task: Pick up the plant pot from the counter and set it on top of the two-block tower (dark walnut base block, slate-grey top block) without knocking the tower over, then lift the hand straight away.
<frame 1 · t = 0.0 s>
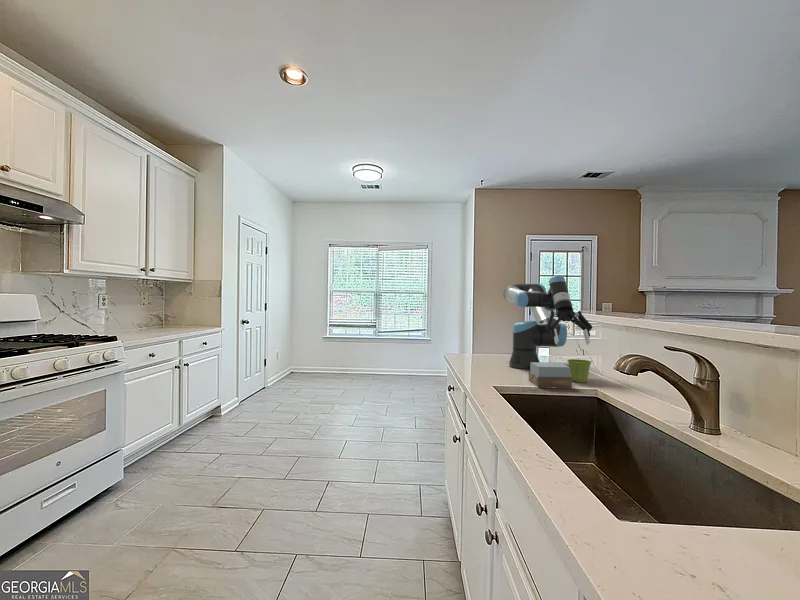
hand: (572, 343, 183), 15 cm above the worktop, tool tilted 35°, fingers open, 13 cm apart
plant pot: (579, 381, 175), on the worktop
slate top block: (549, 374, 167), point 4 cm above the worktop, touching walnut base block
walnut base block: (549, 385, 167), on the worktop, touching slate top block
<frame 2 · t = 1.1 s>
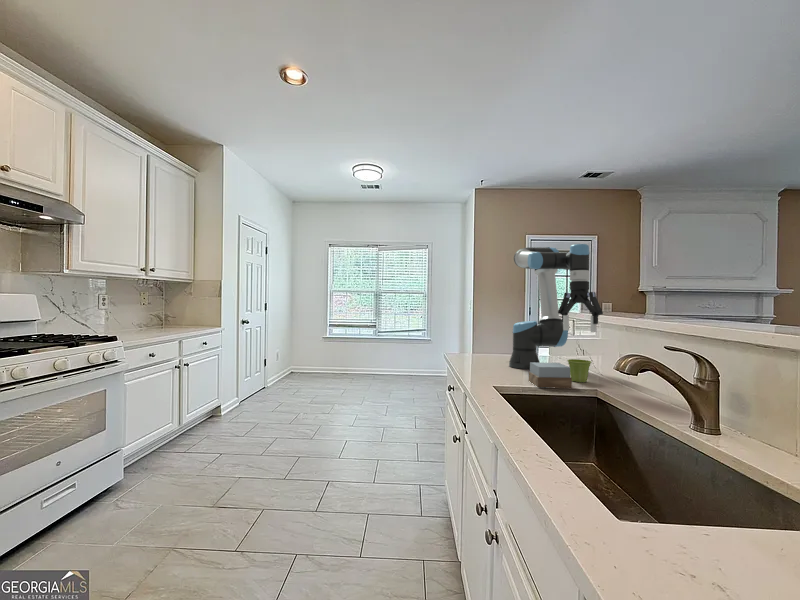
hand: (579, 331, 175), 21 cm above the worktop, tool pointing down, fingers open, 13 cm apart
slate top block: (549, 374, 167), point 4 cm above the worktop
walnut base block: (549, 385, 167), on the worktop
everything else where it was.
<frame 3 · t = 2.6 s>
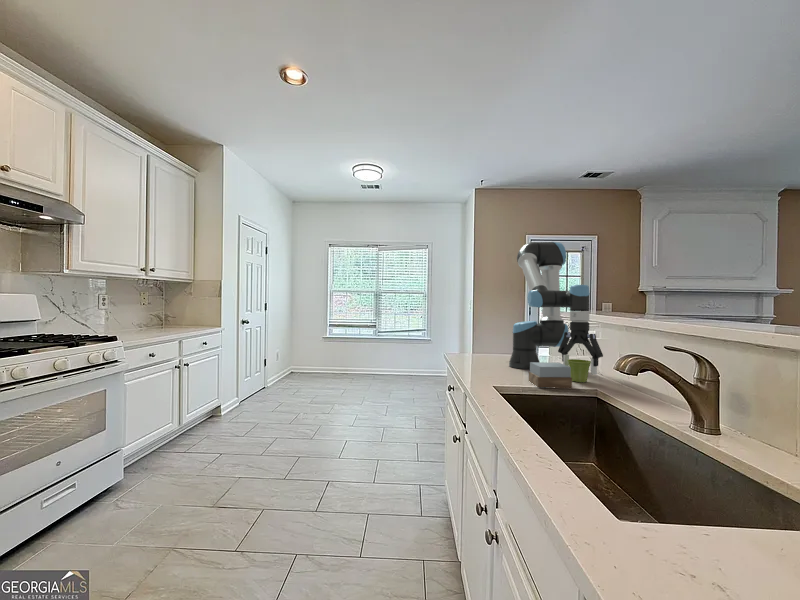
hand: (579, 372, 174), 4 cm above the worktop, tool pointing down, fingers open, 13 cm apart
slate top block: (549, 374, 167), point 4 cm above the worktop, touching walnut base block
walnut base block: (549, 385, 167), on the worktop, touching slate top block
everything else where it was.
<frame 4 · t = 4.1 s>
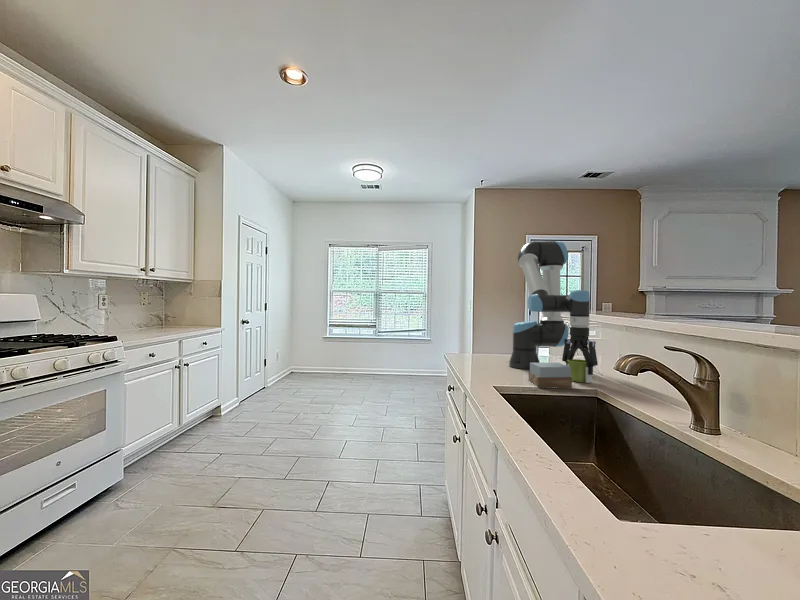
hand: (579, 380, 175), 0 cm above the worktop, tool pointing down, fingers closed on plant pot, 8 cm apart
plant pot: (579, 381, 175), on the worktop, touching gripper
everything else where it was.
when the fingers open (10 cm above the worktop, at t = 9.7 s): plant pot moves 3 cm, resting on slate top block.
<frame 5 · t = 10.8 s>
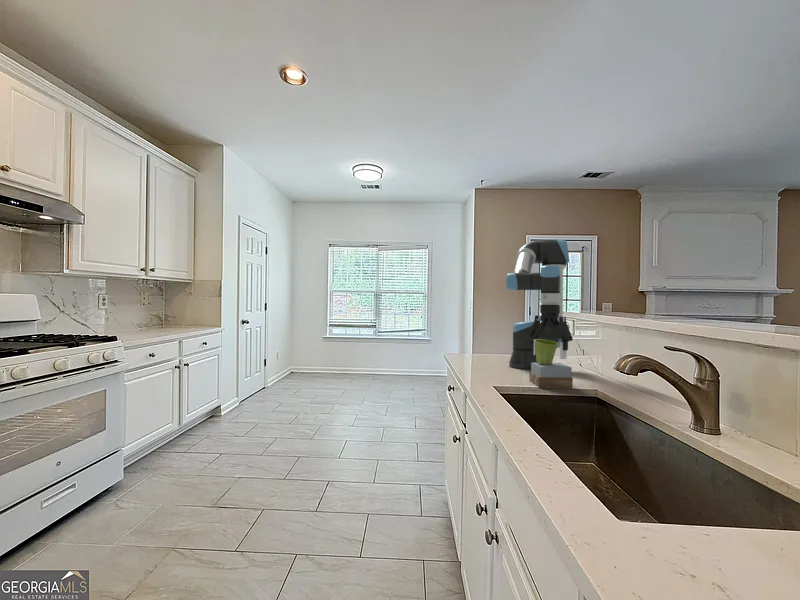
hand: (549, 356, 167), 11 cm above the worktop, tool pointing down, fingers open, 13 cm apart
plant pot: (544, 363, 170), point 8 cm above the worktop, touching gripper, slate top block
slate top block: (550, 374, 167), point 4 cm above the worktop, touching plant pot, walnut base block
everything else where it was.
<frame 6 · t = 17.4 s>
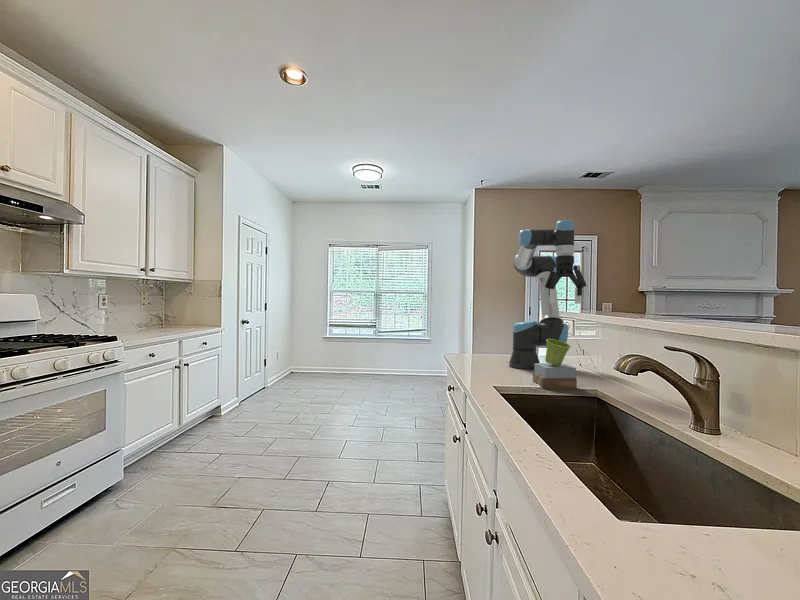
hand: (564, 303, 184), 33 cm above the worktop, tool pointing down, fingers open, 13 cm apart
plant pot: (552, 363, 166), point 9 cm above the worktop, touching slate top block
slate top block: (554, 375, 165), point 4 cm above the worktop, touching plant pot, walnut base block
walnut base block: (553, 386, 166), on the worktop, touching slate top block
at the end: plant pot inside the target area on the slate top block (0.9 cm from its centre), point 4.5 cm above the slate top block's base; slate top block 0.2 cm off-centre on the walnut base block, point 4.5 cm above the walnut base block's base; plant pot tilted 14° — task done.
